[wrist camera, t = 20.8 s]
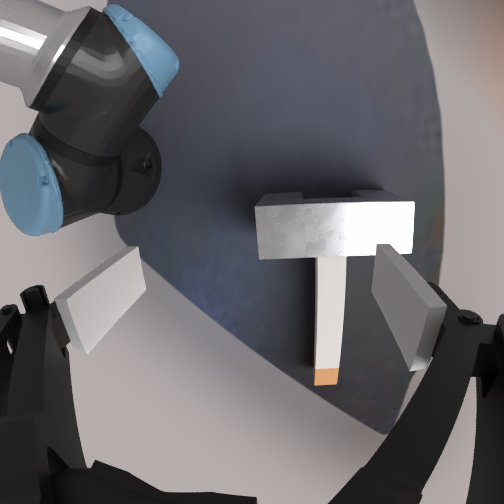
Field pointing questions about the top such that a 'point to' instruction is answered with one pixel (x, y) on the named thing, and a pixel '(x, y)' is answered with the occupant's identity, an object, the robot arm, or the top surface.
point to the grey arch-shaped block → (332, 224)
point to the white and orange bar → (328, 317)
